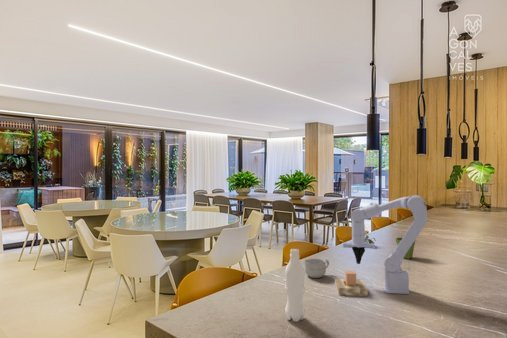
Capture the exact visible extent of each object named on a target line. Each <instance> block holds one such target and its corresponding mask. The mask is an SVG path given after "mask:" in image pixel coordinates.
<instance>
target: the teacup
mask: <svg viewBox="0 0 507 338" xmlns="http://www.w3.org/2000/svg"><path fill="white" fill-rule="evenodd" d="M303 262H304V271H305V275H307V276H308V277H309V278H312V279H313V278H314V279H320V278H322V277H323V276H324V275H325V274H326V272H327V271H326V269H327V268H329V265H330V262H329V260H328V259H323V258H306V259H304V261H303Z"/></svg>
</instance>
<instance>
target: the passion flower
mask: <svg viewBox="0 0 507 338" xmlns="http://www.w3.org/2000/svg"><path fill="white" fill-rule="evenodd" d="M370 237H371V234H368V232H367V231H365V243H370V244H375V241H376V238H375V237H372V238H370ZM373 240H374V241H373Z"/></svg>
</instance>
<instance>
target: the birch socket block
mask: <svg viewBox="0 0 507 338" xmlns="http://www.w3.org/2000/svg"><path fill="white" fill-rule="evenodd" d="M334 284H335V285H334V286H335V288H336V291H337V294H338V295H339V296H355V297H368V292H369V291H368V287H367V286H366V284H365V283H364V281H363V280H362V279H358V278H356V286H345V278H337V277H335V278H334Z"/></svg>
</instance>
